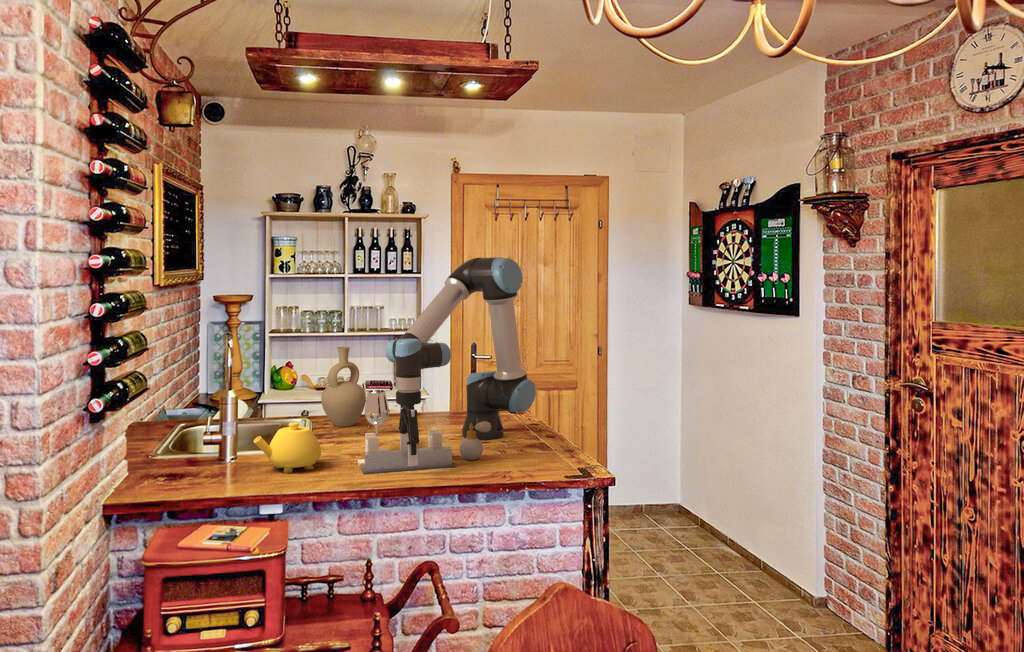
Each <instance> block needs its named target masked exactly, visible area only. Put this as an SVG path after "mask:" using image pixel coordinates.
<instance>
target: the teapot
mask: <svg viewBox="0 0 1024 652" xmlns="http://www.w3.org/2000/svg"><path fill="white" fill-rule="evenodd" d="M253 443H254V444H255V445H256V446H257V447H258V448H259V449H260V450H261V451H262V453H264V454H265V455H266V456H267V459H268V461H269V462H270V463H271V464H272V466H275V468H276V469H283V471H282V473H284V474H291V473H293V470H294V468H304V470H306V469H312V470H314V469H315V466H313V465H314V464H316V463H317V462H318V460H319V459H320V458H321V456H322V450H321V449H322V448H321V446H320V443H319V440H318V439H317V437H316V435H315V434H314V432H313V430H311V429H310V427H307V426H300V423H299V422H295V421H294V422H289V423H288V426H287V427H282V428H279V429H278V430H277V432H276V433H275V434H274V436H273V438H272V440H271V441H270V443H269V444H268V442H266V441H265V440H264V438H262V436H259V435H258V436H256V438H254V440H253ZM313 468H314V469H313Z"/></svg>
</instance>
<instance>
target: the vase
mask: <svg viewBox="0 0 1024 652" xmlns="http://www.w3.org/2000/svg"><path fill="white" fill-rule="evenodd" d="M350 348H351V347H349V346H338V347H337V353H338V363H336V364H334V365H333V366H332V367H331V368H330V370H329V371H328V374H327V375H328V376H327V381H328V384H329V385H328V386H326V387H325V389H323V391H322V393H321V397H320V401H321V405H322V409H323V411H324V413H325V415H326V417H327V418H328V420H329V421H330V423H331V424H333V426H335V427H338V428H347V427H348V428H349V427H351V426H355V425H356V424H357V423H358V422H359V420H360V419H361V416H362V414H363V412H364V411H365V404H366V399H367V396H366V392H365V389H364V388H363V387H362V386H361V385H360V384H358V381H359V379H360V369H359V367H358V366H357V365H356V364H355V363H354V362H351V361H349V354H350V353H349V352H350ZM346 368H347V369H349V371H350V376H349V379H348V381H344V380H342V381H338V375H339V372H340V371H342V370H343V369H346Z"/></svg>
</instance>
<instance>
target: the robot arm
mask: <svg viewBox="0 0 1024 652" xmlns="http://www.w3.org/2000/svg"><path fill="white" fill-rule="evenodd" d="M522 284H523V272H522V270H521V267H520V266H519V264H518V263H517V261H515V260H514V259H512V258H508V257H501V256H499V257H497V256H496V257H474V258H471V259H468V260H466V261H465V262H464V263H462V264H461V265H459V266H458V267H457V268H455V270H453V271H452V273H450V275H449V276H448V277H447V278H446V279H445V281H444V286H443V287H442V288H441V290H440V291H439V292H438V294H437V295H435V297H434V298H433V299H432V301H431V302H429V303H428V305H427V306H426V307H425V309H423V311H422V312H421V313H420V315H419V316H418V317H417V318H416V320H414V322H413V323H412V324H411V325H410V326H409V328H407V330H406V331H405V332H404V333H403V335H402V336H401V337H400V338H399V339H392V340H390V341H389V342H388V343H387V345H386V346H385V349H384V350H385V357H386V358H387V360H388V361H390V362H391V363H394V364H395V379H394V380H393V383H394V384H395V389H396V390H397V391H396V392H395V403H396V404H397V405H398V406H399V405H400V411H399V423H398V431H399V450H401V449H408V466H417V465H418V448H419V444H420V434H419V423H418V422H419V421H418V409H415V406H416V405H419V404H421V402H422V392H421V389H422V370H423V369H431V368H432V369H433V368H440V367H444V366H446V365H448V364H449V363H450V361H451V360H452V359H451V358H452V352H451V348H450V346H449V345H448V344H447V343H445V342H436V341H435V342H429V341H430V340H431V338H432V337H433V336H434V335H435V334H436V332H437V331H438V330H439V329H440V328H441V327H442V325H443V324H444V323H445V322H446V321H447V319H448V318H449V316H451V314H452V313H453V311H454V310H455V309H456V308H457V307H458V305H459V304H461V302H462V301H464V300H465V301H466V300H467V299H468V298H469V297H470V296H471V295H472V294H474V293H479V292H480V293H482V298H483V299H482V300H483V301H484V302H486V303H487V304H488V309H489V316H490V317H489V318H490V326H491V333H492V341H493V349H494V355H495V356H494V357H495V366H496V370H494V371H493V370H489V371H479V372H472V373H469V374H468V375H467V377H466V378H467V379H466V416H465V419H464V422H463V424H462V429H461V436H462V438H464V439H465V438H466V437H467V431H469V430H470V429H469V426H470V424H471V423H472V424H473V425H472V426H473V427H474V426H475V425H476V424H478V423H480V422H483V421H486V422H489V423H490V424H491V429H490V431H488V432H480V431H477V430H476V429H475V428H473V431H476V437H477V438H478V439H479V440H480V441H482V440H496V439H500V438H503V437H504V435H505V431H504V426H503V422H502V419H501V416H500V410H501V411H507V412H512V413H524V412H526V411H528V410H529V409H531V407H532V406H533V403H534V401H535V398H536V393H537V388H536V384H535V383H534V382H533V381H532V380H531V379H528V372H527V370H526V369H525V368H523V367H522V360H521V359H522V358H521V352H520V351H521V350H520V343H519V335H518V327H517V317H516V310H515V304H514V303H515V302H514V301H515V299H517V296H518V291H519V290H520V289H521V287H522Z"/></svg>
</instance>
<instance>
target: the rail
mask: <svg viewBox="0 0 1024 652" xmlns="http://www.w3.org/2000/svg"><path fill="white" fill-rule="evenodd" d="M363 459H365V466H364V467H365V470H366V471H379V470H392V469H405V468H419V467H432V466H445V465H452V462H453V448H451V446H450V445H447V446H442V447H431V448H428V447H422V448H421V447H418V465H417V466H408V449H401V450H400V449H388V450H386V451H372V452H365V451H364V458H363Z"/></svg>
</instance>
